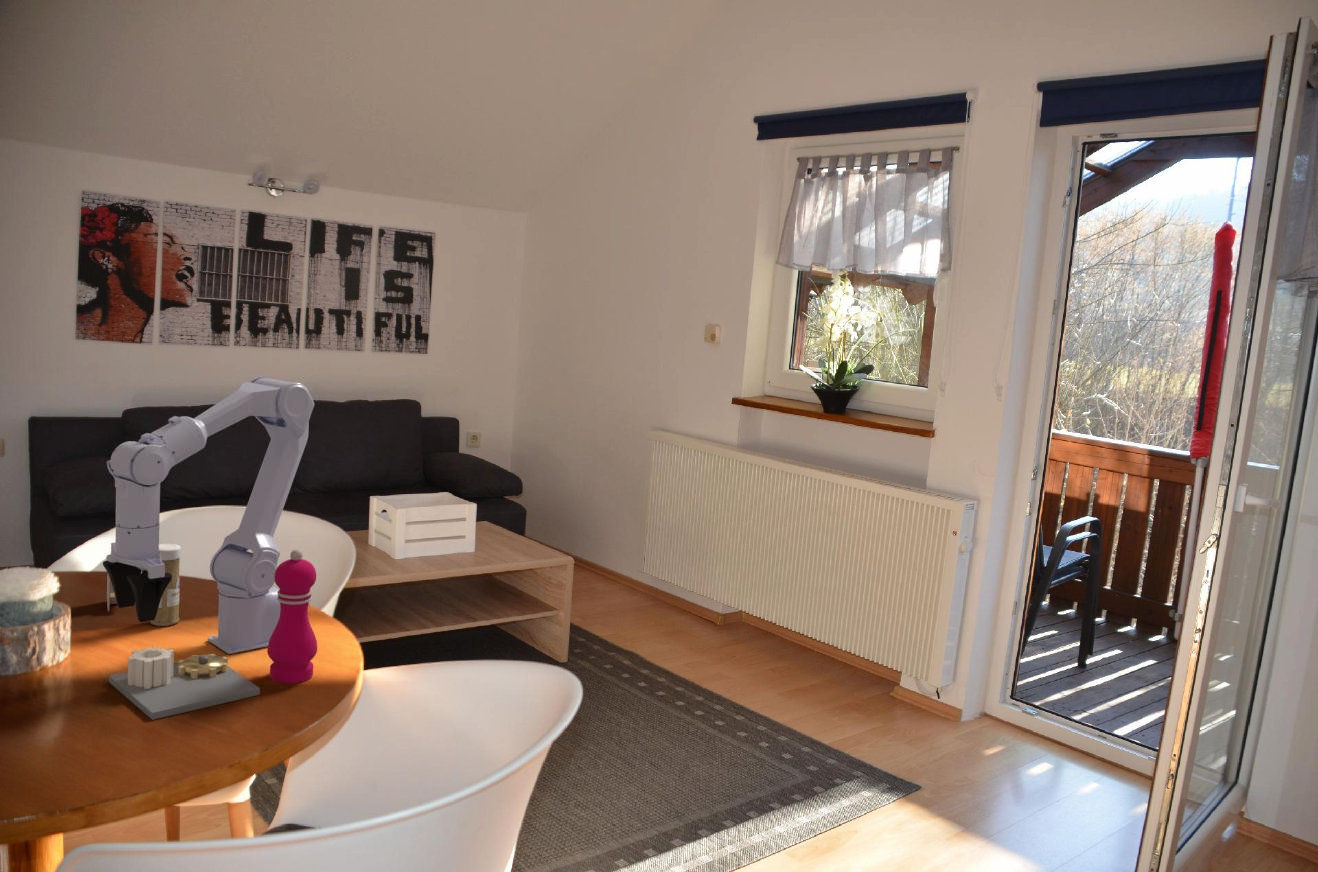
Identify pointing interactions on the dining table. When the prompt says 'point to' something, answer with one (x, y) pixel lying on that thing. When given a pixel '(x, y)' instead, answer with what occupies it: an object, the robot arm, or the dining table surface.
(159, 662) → the gear
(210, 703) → the gear board
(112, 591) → the architectural model
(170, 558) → the sprinkles bottle
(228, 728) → the dining table surface
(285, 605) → the pepper mill
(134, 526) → the robot arm
